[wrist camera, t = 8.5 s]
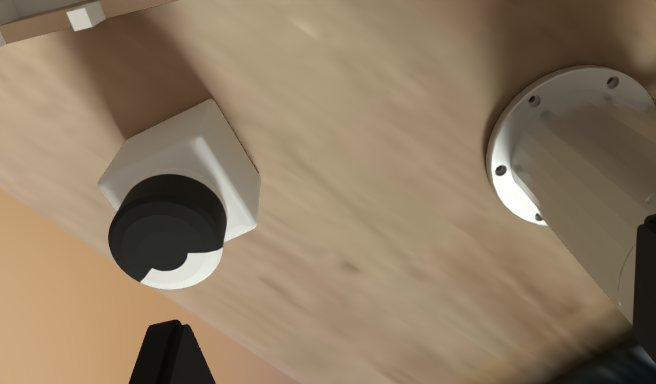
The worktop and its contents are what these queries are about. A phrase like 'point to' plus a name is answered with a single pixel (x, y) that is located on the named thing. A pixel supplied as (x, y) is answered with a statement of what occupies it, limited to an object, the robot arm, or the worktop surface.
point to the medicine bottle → (179, 198)
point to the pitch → (60, 15)
